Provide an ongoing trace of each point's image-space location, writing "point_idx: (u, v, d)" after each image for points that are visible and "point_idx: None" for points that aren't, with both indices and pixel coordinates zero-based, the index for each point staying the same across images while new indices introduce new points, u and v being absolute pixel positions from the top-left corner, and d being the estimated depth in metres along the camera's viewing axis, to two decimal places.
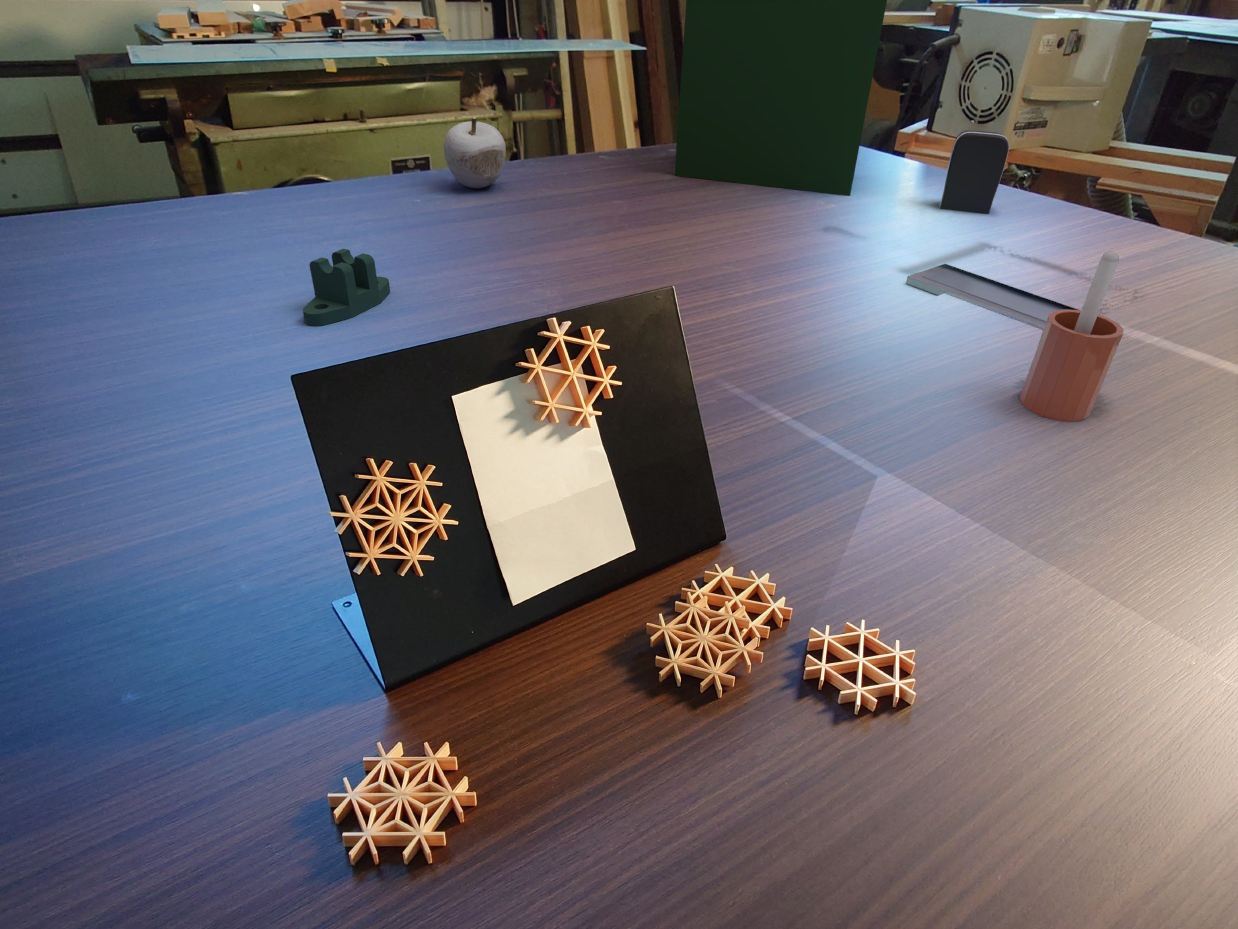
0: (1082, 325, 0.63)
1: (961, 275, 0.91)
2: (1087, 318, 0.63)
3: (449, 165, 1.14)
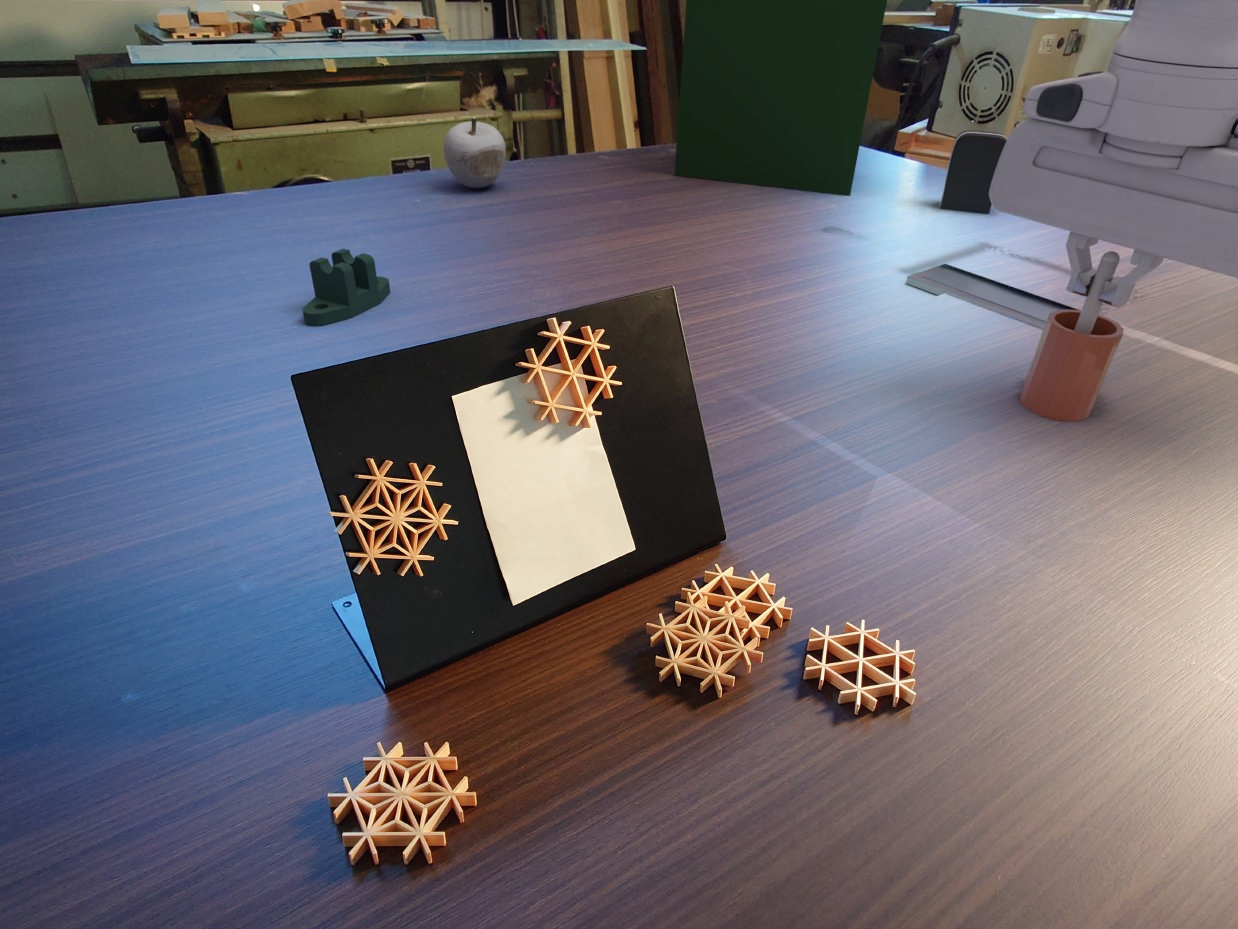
0: (1082, 325, 0.63)
1: (961, 275, 0.91)
2: (1087, 318, 0.63)
3: (449, 165, 1.14)
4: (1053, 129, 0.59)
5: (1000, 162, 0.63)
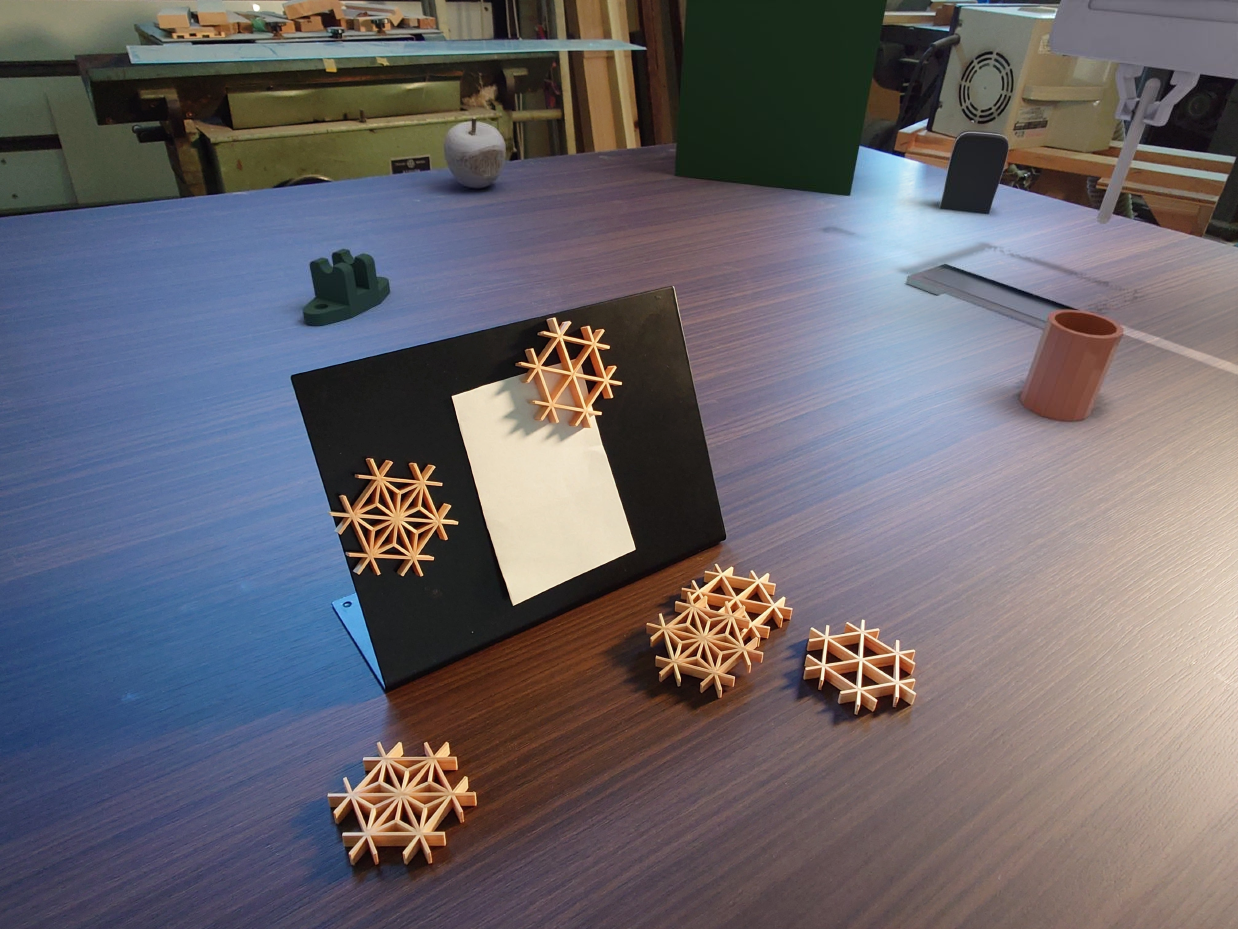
0: (1128, 146, 0.76)
1: (961, 275, 0.91)
2: (1132, 139, 0.75)
3: (449, 165, 1.14)
4: None
5: (1060, 8, 0.75)
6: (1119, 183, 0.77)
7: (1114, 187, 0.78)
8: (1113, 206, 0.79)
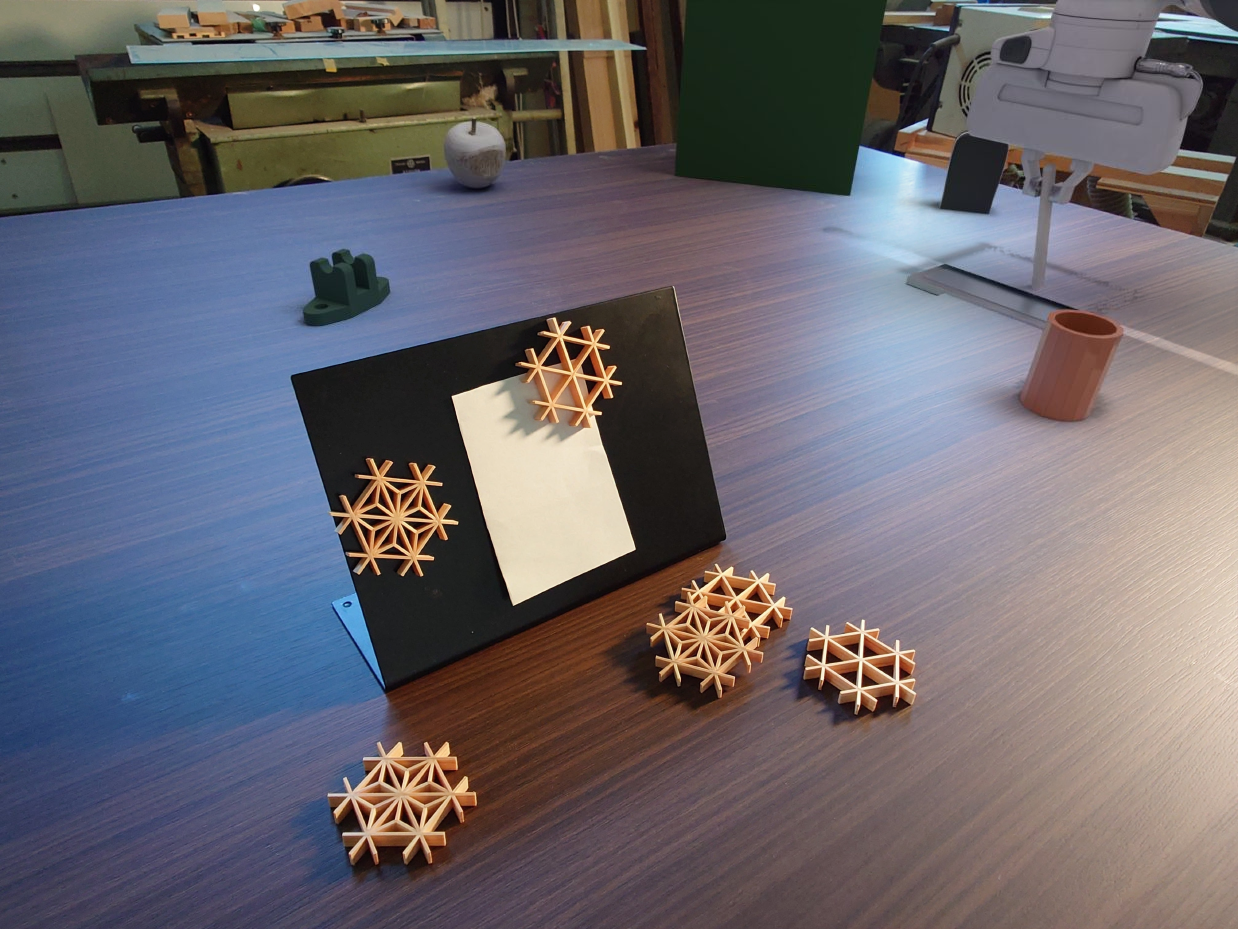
0: (1041, 223, 0.85)
1: (961, 275, 0.91)
2: (1044, 217, 0.84)
3: (449, 165, 1.14)
4: (1011, 70, 0.80)
5: (974, 98, 0.84)
6: (1042, 255, 0.86)
7: (1039, 259, 0.86)
8: (1043, 275, 0.87)
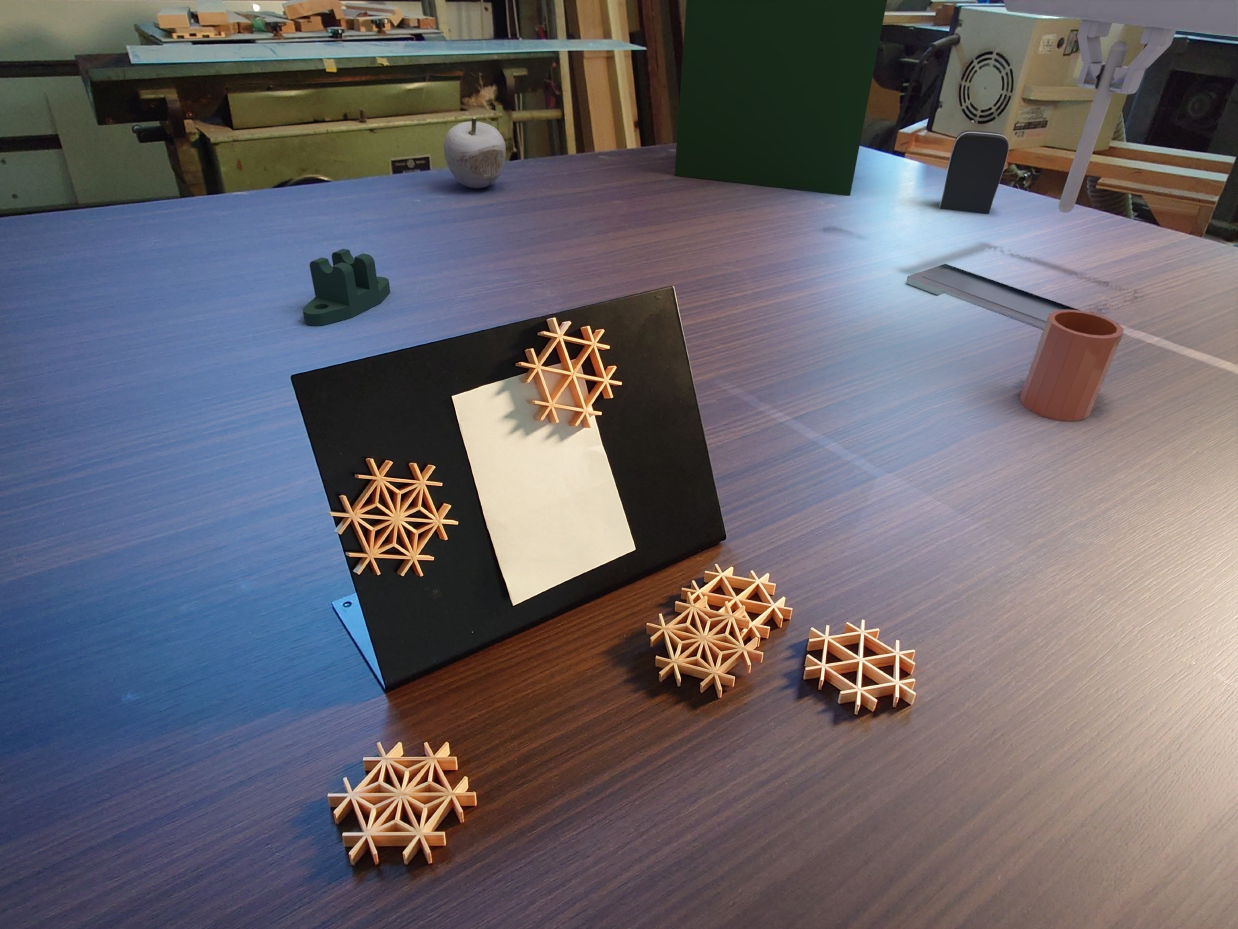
0: (1091, 122, 0.65)
1: (961, 275, 0.91)
2: (1096, 114, 0.64)
3: (449, 165, 1.14)
4: None
5: None
6: (1082, 165, 0.67)
7: (1077, 170, 0.67)
8: (1076, 192, 0.68)
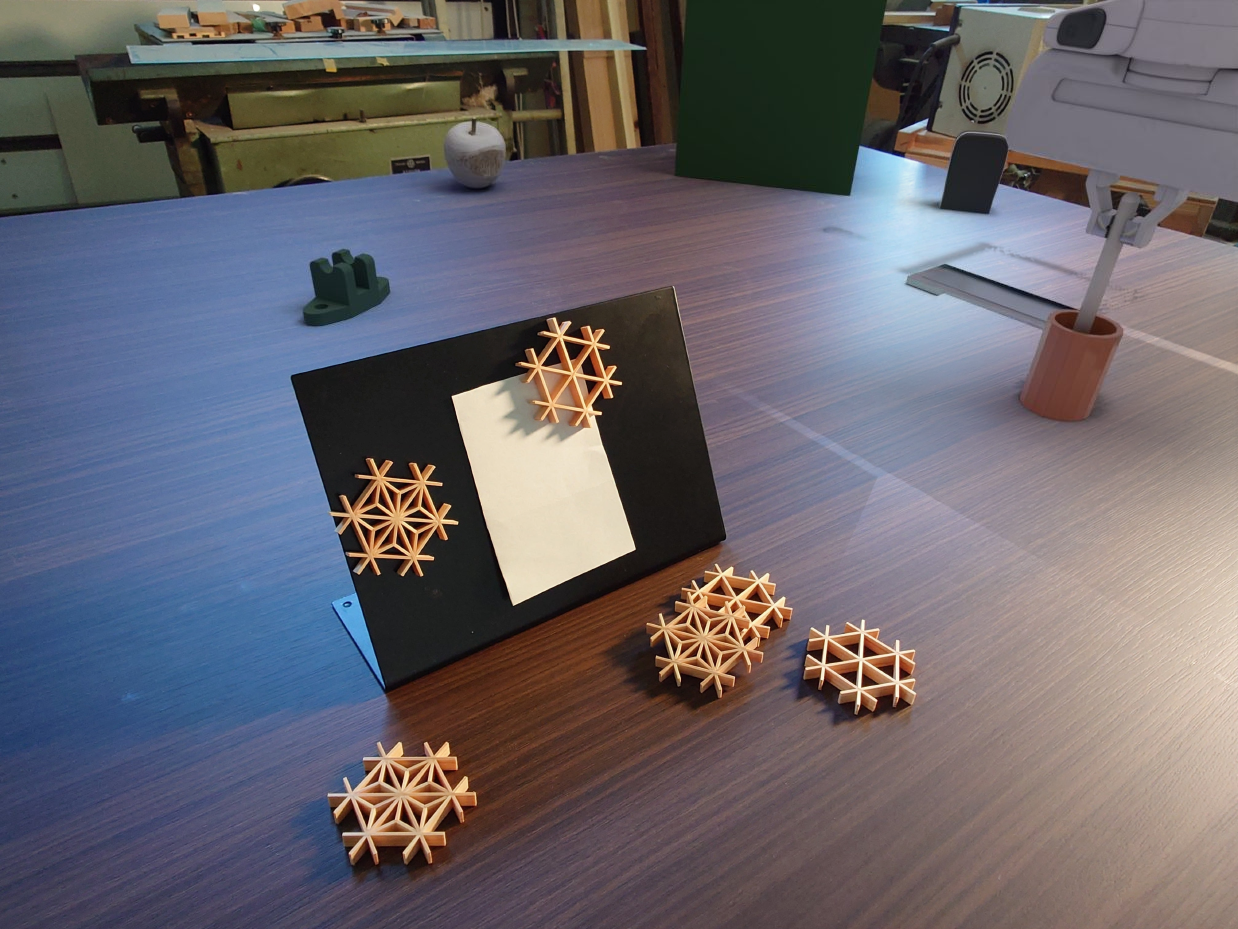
0: (1101, 271, 0.61)
1: (961, 275, 0.91)
2: (1106, 264, 0.61)
3: (449, 165, 1.14)
4: (1073, 58, 0.56)
5: (1017, 98, 0.60)
6: (1091, 313, 0.63)
7: (1085, 318, 0.63)
8: None
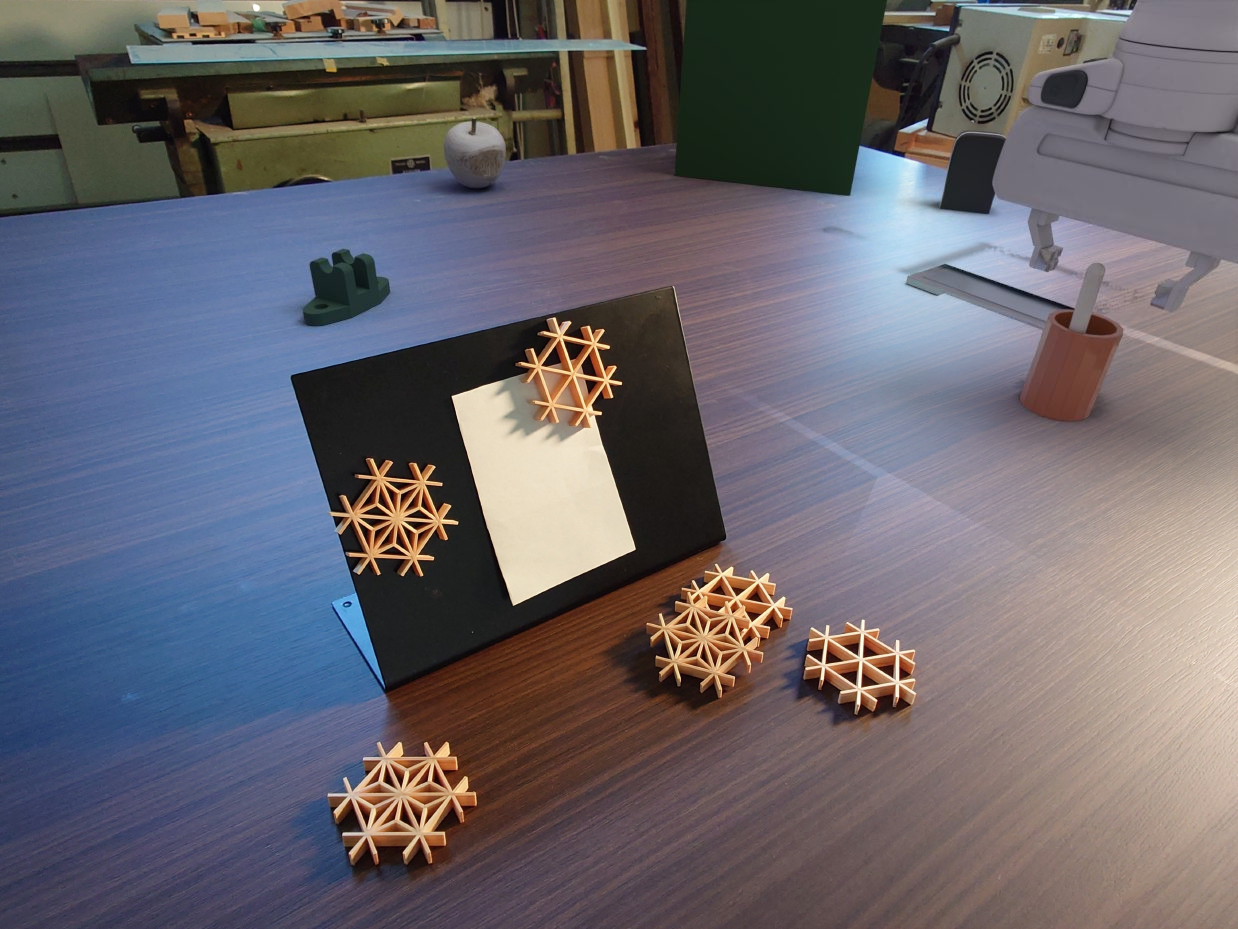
0: None
1: (961, 275, 0.91)
2: (1078, 327, 0.62)
3: (449, 165, 1.14)
4: (1057, 116, 0.58)
5: (1004, 150, 0.62)
6: None
7: None
8: None
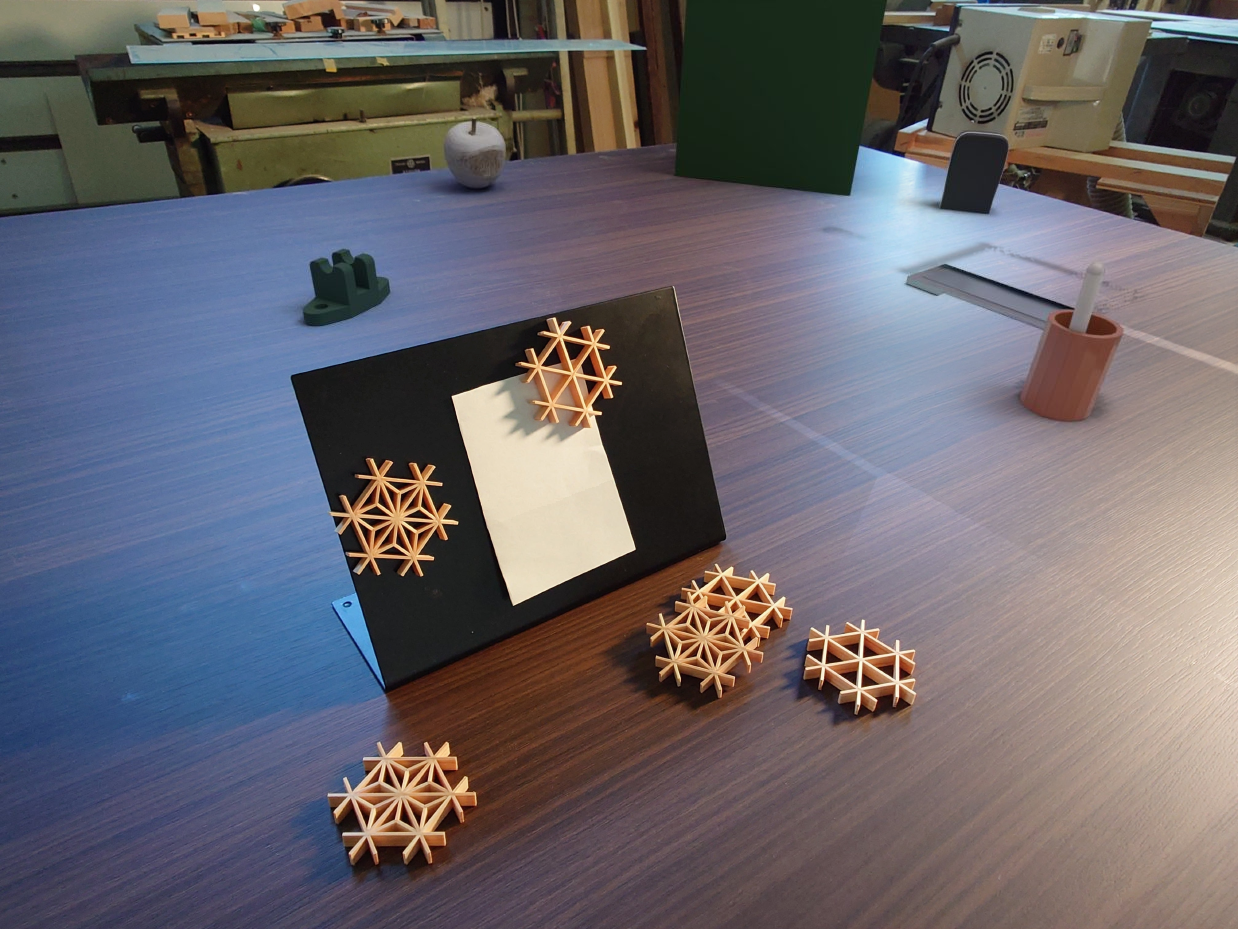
0: None
1: (961, 275, 0.91)
2: (1078, 327, 0.62)
3: (449, 165, 1.14)
4: None
5: None
6: None
7: None
8: None
